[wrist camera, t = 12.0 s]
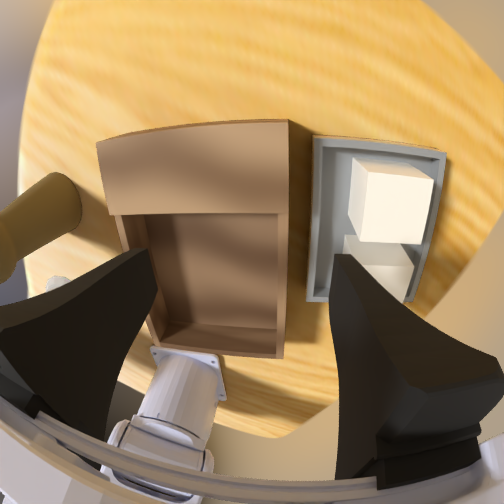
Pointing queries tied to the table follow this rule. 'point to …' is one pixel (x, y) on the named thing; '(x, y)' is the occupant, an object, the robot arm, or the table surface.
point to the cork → (37, 219)
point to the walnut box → (207, 229)
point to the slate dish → (337, 203)
